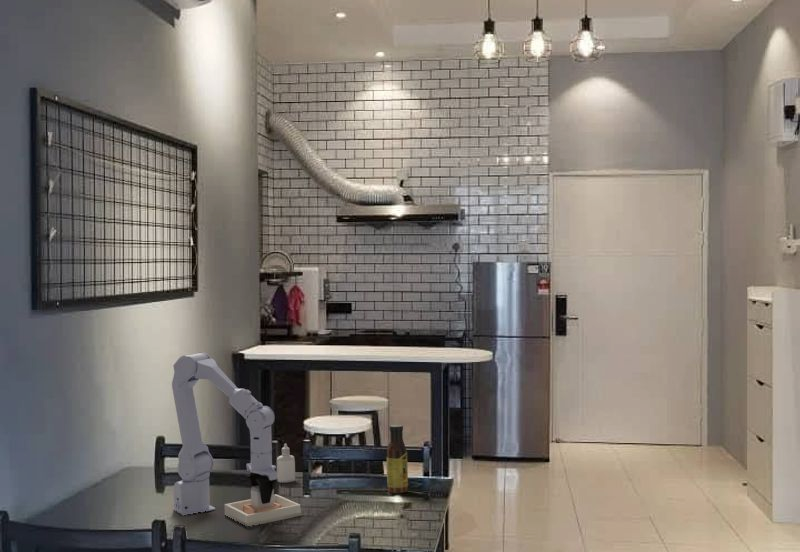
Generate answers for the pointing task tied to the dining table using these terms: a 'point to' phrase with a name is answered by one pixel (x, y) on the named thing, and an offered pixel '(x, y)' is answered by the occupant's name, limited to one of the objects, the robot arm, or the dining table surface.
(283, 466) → the eye dropper bottle
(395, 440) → the sauce bottle
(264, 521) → the walled box
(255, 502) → the grey plug
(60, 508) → the dining table surface
